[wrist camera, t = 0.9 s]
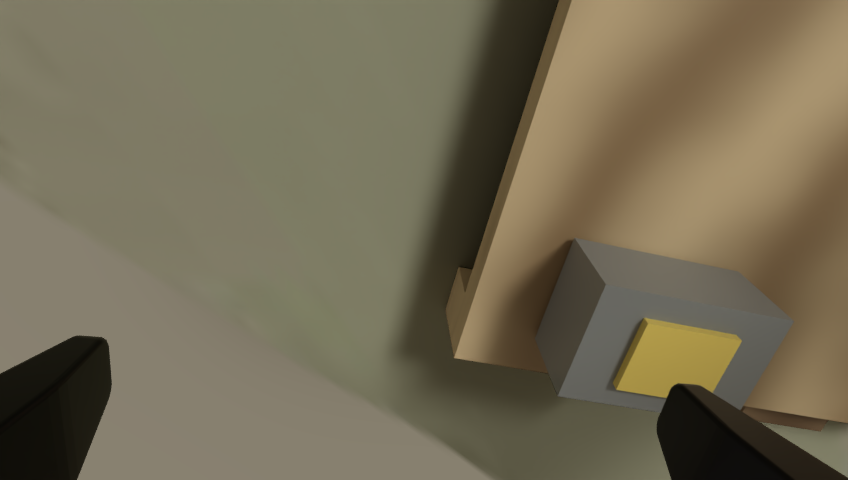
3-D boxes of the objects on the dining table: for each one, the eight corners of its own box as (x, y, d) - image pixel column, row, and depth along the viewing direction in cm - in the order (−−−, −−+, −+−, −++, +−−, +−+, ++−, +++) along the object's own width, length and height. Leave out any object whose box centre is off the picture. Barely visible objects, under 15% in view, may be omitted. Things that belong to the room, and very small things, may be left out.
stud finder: (739, 271, 20) (800, 327, 17) (688, 365, 22) (737, 430, 19) (574, 237, 19) (609, 290, 16) (534, 338, 21) (560, 402, 18)
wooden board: (1191, -5, 20) (1325, 2, 18) (883, 415, 28) (940, 468, 25) (603, -204, 17) (649, -236, 14) (436, 339, 25) (443, 390, 22)
